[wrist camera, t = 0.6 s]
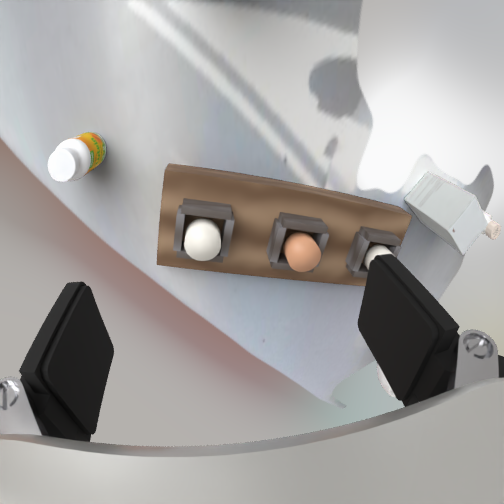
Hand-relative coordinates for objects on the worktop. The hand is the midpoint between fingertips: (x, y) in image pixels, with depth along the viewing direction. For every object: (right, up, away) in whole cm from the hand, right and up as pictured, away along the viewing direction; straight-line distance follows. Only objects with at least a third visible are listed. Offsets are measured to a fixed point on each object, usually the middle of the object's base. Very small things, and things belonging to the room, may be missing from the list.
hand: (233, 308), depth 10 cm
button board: (+6, +6, +37) cm, 38 cm away
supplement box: (+31, +12, +38) cm, 51 cm away
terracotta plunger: (+7, +3, +32) cm, 33 cm away
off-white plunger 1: (-6, +4, +29) cm, 30 cm away
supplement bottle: (-22, +16, +28) cm, 39 cm away
